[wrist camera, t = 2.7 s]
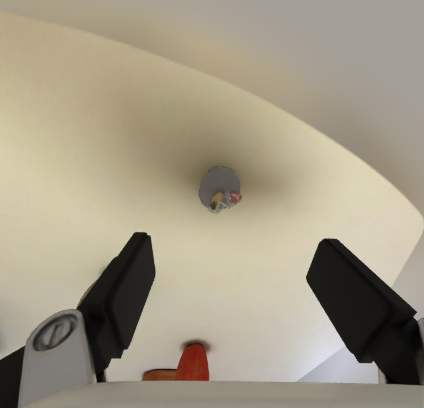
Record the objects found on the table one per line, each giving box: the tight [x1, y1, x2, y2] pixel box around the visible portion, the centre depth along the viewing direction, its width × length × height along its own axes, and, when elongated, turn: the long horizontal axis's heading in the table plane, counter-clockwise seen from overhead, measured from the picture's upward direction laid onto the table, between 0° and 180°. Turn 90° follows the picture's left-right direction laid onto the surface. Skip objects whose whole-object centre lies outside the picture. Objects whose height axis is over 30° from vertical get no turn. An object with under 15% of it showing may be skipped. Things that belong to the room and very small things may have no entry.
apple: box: [175, 344, 209, 381], centre depth 31 cm, size 6×6×8 cm
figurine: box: [199, 166, 242, 214], centre depth 17 cm, size 5×4×6 cm
